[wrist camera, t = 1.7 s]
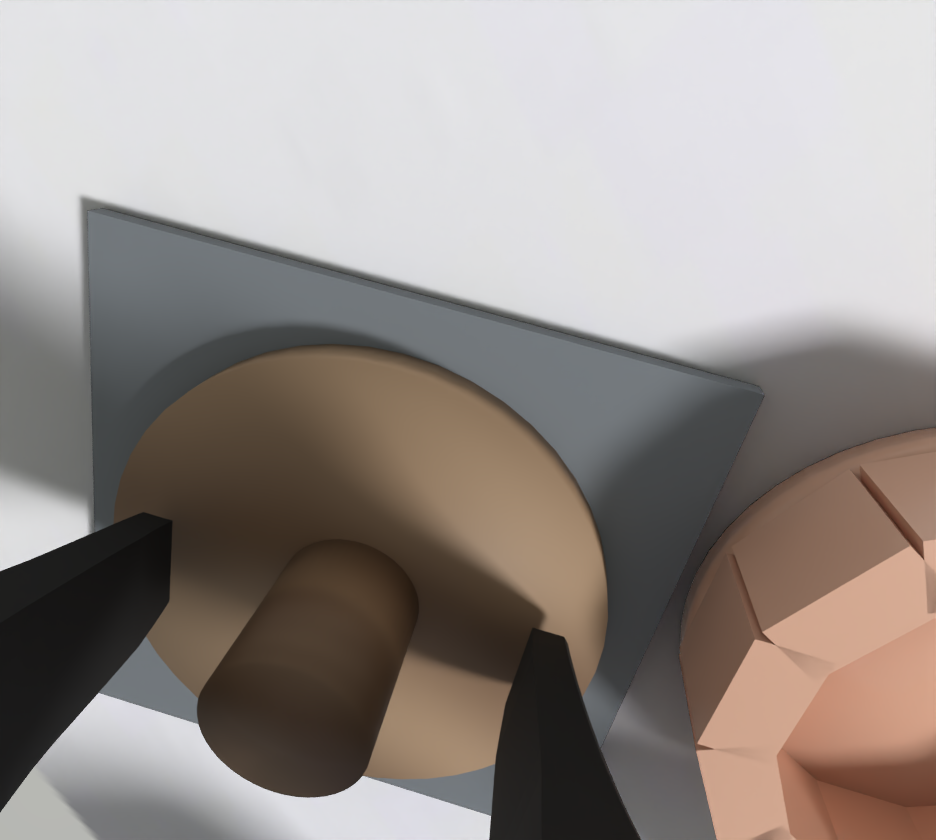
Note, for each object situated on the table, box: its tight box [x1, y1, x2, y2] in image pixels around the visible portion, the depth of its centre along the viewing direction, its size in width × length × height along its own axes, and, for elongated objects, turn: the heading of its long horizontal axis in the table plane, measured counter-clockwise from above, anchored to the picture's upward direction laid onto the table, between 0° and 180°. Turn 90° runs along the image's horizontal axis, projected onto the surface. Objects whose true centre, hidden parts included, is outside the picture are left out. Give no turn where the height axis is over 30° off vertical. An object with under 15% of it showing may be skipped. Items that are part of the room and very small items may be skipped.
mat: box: [87, 208, 765, 816], centre depth 14 cm, size 12×12×1 cm
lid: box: [113, 344, 608, 797], centre depth 12 cm, size 10×10×4 cm
